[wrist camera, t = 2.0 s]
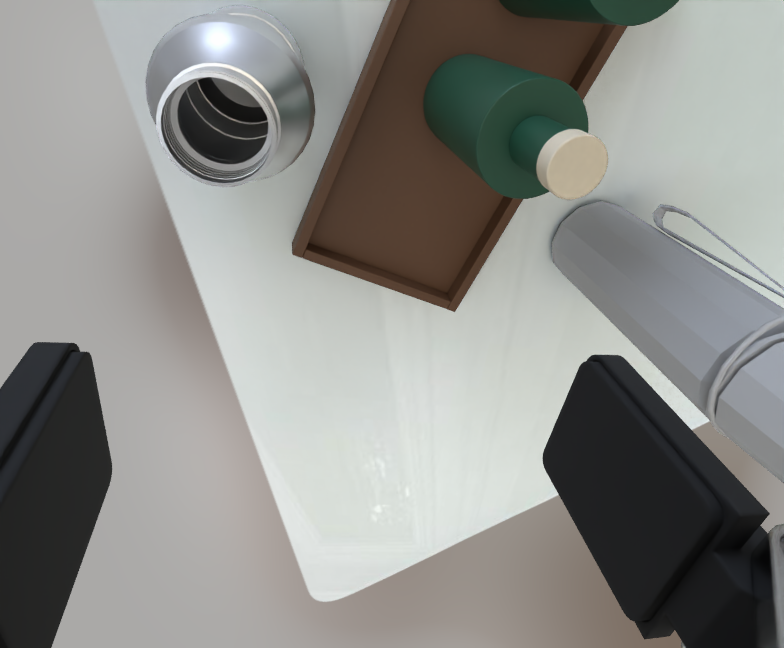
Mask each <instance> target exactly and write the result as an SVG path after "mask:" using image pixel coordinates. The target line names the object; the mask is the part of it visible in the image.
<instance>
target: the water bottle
mask: <svg viewBox="0 0 784 648" xmlns="http://www.w3.org/2000/svg"><path fill="white" fill-rule="evenodd" d="M666 211H671V212H677V213H680V214H682V215H684V216H687V217H689V218H691V219H693V220H694V221H695V222H697V223H698V224H699V225H700V226H702V227H703V228H704V229H706V230H707V231H708V232H709V233H711V234H712V235H713V236H715V237H716V238H717V239H718V240H720V241H721V242H722V243H724V244H725V245H726V246H727V247H729V248H730V249H731V250H733V251H734V252H735V253H736V254H738V255H739V256H740V257H742V258H743V259H744V260H745V261H747V262H748V263H749V264H751V265H752V266H753V267H755V268H756V269H757V270H758V271H760V272H761V273H762V274H764V275H765V276H766V277H767V278H769V279H770V280H771V281H773V282H774V283H775V284H776V285H778V286H779V287H780V288H782V289H783V290H784V287H782V286H781V285H780V284H778V283H777V282H776V281H775V280H773V279H772V278H771V277H770V276H768V275H767V274H766V273H764V272H763V271H762V270H761V269H759V268H758V267H757V266H756V265H754V264H753V263H752V262H750V261H749V260H748V259H747V258H745V257H744V256H743V255H742V254H740V253H739V252H738V251H736V250H735V249H734V248H733V247H731V246H730V245H729V244H728V243H726V242H725V241H724V240H723V239H721V238H720V237H719V236H717V235H716V234H715V233H714V232H712V231H711V230H710V229H709V228H707V227H706V226H705V225H703V224H702V223H701V222H700V221H698V220H697V219H696V218H694V217H693V216H692V215H690V214H689V213H688V212H686V211H683V210H681V209H678V208H676V207H673V206H668V205H662V204H661V205H660V206H659V207H658V208H657V209H656V210H655V211H654V213H653V217H654V221H655V223H656V226H658V227H659V228H660V229H662V230H663V231H664V232H666V233H667V234H669V235H671V236H672V237H674V238H676V239H678V240H680V241H681V242H683V243H685V244H687V245H689V246H690V247H692V248H694V249H696V250H698V251H699V252H701V253H703V254H705V255H707V256H709V257H710V258H712V259H714V260H716V261H718V262H719V263H721V264H723V265H725V266H727V267H728V268H730V269H732V270H734V271H736V272H738V273H739V274H741V275H743V276H745V277H747V278H749V279H750V280H752V281H754V282H756V283H758V284H759V285H761V286H763V287H765V288H767V289H769V290H770V291H772V292H774V293H776V294H778V295H779V296H781V297H783V298H784V295H783V294H781V293H780V292H778V291H776V290H774V289H772V288H771V287H769V286H767V285H765V284H764V283H762V282H760V281H758V280H756V279H755V278H753V277H751V276H749V275H748V274H746V273H744V272H742V271H740V270H739V269H737V268H735V267H733V266H732V265H730V264H728V263H726V262H724V261H723V260H721V259H719V258H717V257H716V256H714V255H712V254H710V253H708V252H707V251H705V250H703V249H701V248H700V247H698V246H696V245H694V244H692V243H691V242H689V241H687V240H685V239H684V238H682V237H680V236H678V235H676V234H675V233H673V232H671V231H669V230H668V229H666V228H664V227H663V222H662V218H663V216H664V214H665V212H666ZM552 256H553V263H554V264H555V265H556V266H557V267H558V269H559V270H560V271H561V272H562V273H563V274H564V275H565V276H566V277H567V278H568V279H569V280H570V281H571V282H572V283H573V284H574V285H575V286H576V287H577V288H578V289H579V290H580V291H581V292H582V293H583V294H584V295H585V296H586V297H587V298H588V299H589V300H590V301H591V302H592V303H593V304H594V305H595V306H596V307H597V308H598V309H599V310H600V311H601V312H602V313H603V314H604V315H605V316H606V317H607V318H608V319H609V320H610V321H611V322H612V323H613V324H614V325H615V326H616V327H617V328H618V329H619V330H620V331H621V332H622V333H623V334H624V335H625V336H626V337H627V338H628V339H629V340H630V341H631V342H632V343H633V344H634V345H635V346H636V347H637V348H638V349H639V350H640V351H641V352H642V353H643V354H644V355H645V356H646V357H647V358H648V359H649V360H650V361H651V362H652V363H653V364H654V365H655V366H656V367H657V368H658V369H659V370H660V371H661V372H662V373H663V374H664V375H665V376H666V377H667V378H668V379H669V380H670V381H671V382H672V383H673V384H674V385H675V386H676V387H677V388H678V389H679V390H680V391H681V392H682V393H683V394H684V395H685V396H686V397H687V398H688V399H689V400H690V401H691V402H692V403H693V404H694V405H695V406H696V407H697V408H698V409H699V410H700V411H701V412H702V413H703V414H704V415H705V416H706V417H707V418H708V419H709V420H710V421H711V423H712V425H713V427H714V428H715V429H716V430H717V431H718V432H719V433H720V434H722V435H723V436H724V437H728V438H729V439H730V440H732V441H733V442H734V443H735V444H737V445H738V446H739V447H740V448H741V449H743V450H744V451H745V452H746V453H747V454H749V455H750V456H751V457H752V458H754V459H755V460H756V461H757V462H758V463H760V464H761V465H762V466H763V467H764V468H766V469H767V470H768V471H769V472H770V473H772V474H773V475H774V476H775V477H777V478H778V479H779V480H780V481H781V482H783V483H784V308H782V307H780V306H779V305H777V304H776V303H774V302H772V301H771V300H769V299H768V298H766V297H764V296H763V295H761V294H760V293H758V292H756V291H755V290H753V289H752V288H750V287H748V286H747V285H745V284H744V283H742V282H740V281H739V280H737V279H736V278H734V277H732V276H731V275H729V274H728V273H726V272H724V271H723V270H721V269H720V268H718V267H716V266H715V265H713V264H712V263H710V262H708V261H707V260H705V259H704V258H702V257H700V256H699V255H697V254H696V253H694V252H692V251H691V250H689V249H688V248H686V247H684V246H683V245H681V244H680V243H678V242H676V241H675V240H673V239H672V238H670V237H668V236H667V235H665V234H664V233H662V232H660V231H659V230H657V229H656V228H654V227H652V226H651V225H649V224H648V223H646V222H644V221H643V220H641V219H640V218H638V217H636V216H635V215H633V214H632V213H630V212H628V211H627V210H625V209H624V208H622V207H620V206H619V205H615V204H611V203H607V202H603V201H598V202H595V203H592V204H588V205H585V206H582V207H579V208H577V209H576V210H575V211H574V212H573V213H572V214H571V215H569V216H568V217H567V218H566V219H565V220H564V221H563V222H561V224H560V226H559V228H558V231H557V233H556V235H555V237H554V239H553V241H552Z"/></svg>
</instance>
